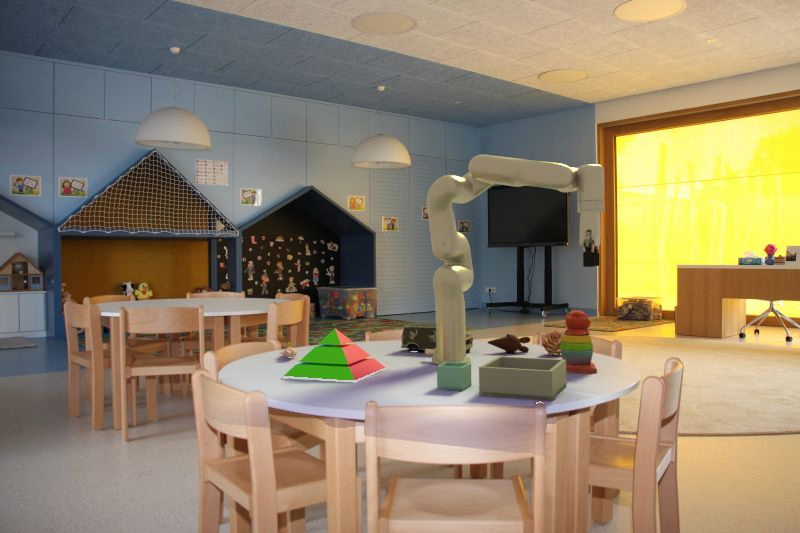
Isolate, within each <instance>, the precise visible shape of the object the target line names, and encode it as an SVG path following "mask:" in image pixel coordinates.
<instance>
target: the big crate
mask: <svg viewBox="0 0 800 533" xmlns="http://www.w3.org/2000/svg"><path fill="white" fill-rule="evenodd" d="M566 387H567V371H566V360H564V359H562V358H561V359H558V358H544V357H543V358H540V357H539V358H538V357H525V356H524V357H523V356H522V357H520V356H501V355H499V356H497V357H495V358H493V359H491V360H489V361H488V362H486V363H483V364H482V365H480V366H479V367H478V390H479V391H478V392H479V394H478V395H479V396H484V397H499V398H509V399H519V400H520V399H521V400H534V401H535V400H536V401H546V400H551V401H550V402H553V401H555V399H556V398H557V397H558V396H559V395H560V394H561V393H562V392H563V391H562V390H565V388H566ZM561 391H562V392H561ZM560 392H561V393H560ZM559 393H560V394H559ZM558 394H559V395H558ZM557 395H558V396H557ZM556 396H557V397H556ZM555 397H556V398H555Z"/></svg>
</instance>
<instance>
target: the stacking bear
mask: <svg viewBox="0 0 800 533" xmlns="http://www.w3.org/2000/svg"><path fill="white" fill-rule="evenodd" d="M565 324H566V328H567V329H565V331H564V332H563V333H564V334H563V336H562V341H561V354H560V356H561V359H564V360H566V372H567V371H568V372H569V373H575V372H576V374H596V373H597V372H598V369H597V367H596V365H595V364H594V363H593V362H592V359H593V355H594V344H593V340H592V339H593V338H592V337H591V336H592V335H591V333H590V331H589V330H588V328H589V327H590V326H591V324H592V319H591V318H589V317H588V316H587V314H586V313H585V311H582V310H576V309H572V310H570V311H569V312H568V313H567V314H566V316H565ZM568 372H567V373H568Z"/></svg>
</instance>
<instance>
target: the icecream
mask: <svg viewBox="0 0 800 533" xmlns="http://www.w3.org/2000/svg"><path fill="white" fill-rule="evenodd" d="M530 341H531V338H530V337H529V336H523V337H518V336H516V335H514V334H512V333H511V334H509V333H507V334H506V335H505V336H503V337H499V338H496V339H491V340H489V341H487V344H489V345H491V346H494V347H496V348H498V349H501V350H503V351H505V353H506V354H508V353H509V354H512V353H513V354H514V353H516V352H518V351H520V352H521V353H522V352H523V353H528V352H529V350H530V349H529V347H528V346H525V345H523V344H528V343H530Z"/></svg>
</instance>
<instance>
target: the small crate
mask: <svg viewBox="0 0 800 533" xmlns="http://www.w3.org/2000/svg"><path fill="white" fill-rule="evenodd" d="M436 383H437V384H436V387H437V388H436V389H437V390H445V391H458V392H459V391H461V392H464V391H465V390H467V389H468V388H470V387H472V363H471V362H470V363H458V362H445V363H443V364H440V365H438V364H437V365H436Z"/></svg>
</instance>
